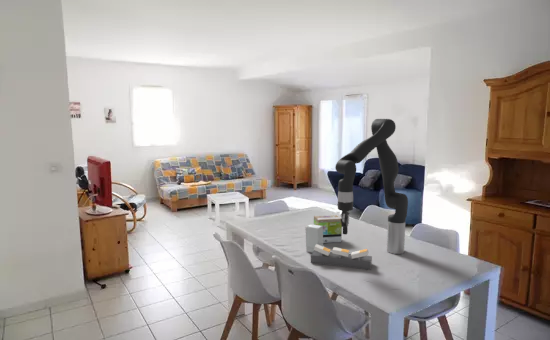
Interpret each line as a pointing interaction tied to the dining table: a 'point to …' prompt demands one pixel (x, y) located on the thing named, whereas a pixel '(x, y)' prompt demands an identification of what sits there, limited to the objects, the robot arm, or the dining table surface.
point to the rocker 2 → (340, 251)
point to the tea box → (330, 227)
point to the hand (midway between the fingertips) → (345, 233)
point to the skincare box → (313, 237)
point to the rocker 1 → (322, 249)
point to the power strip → (341, 260)
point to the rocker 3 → (359, 253)
